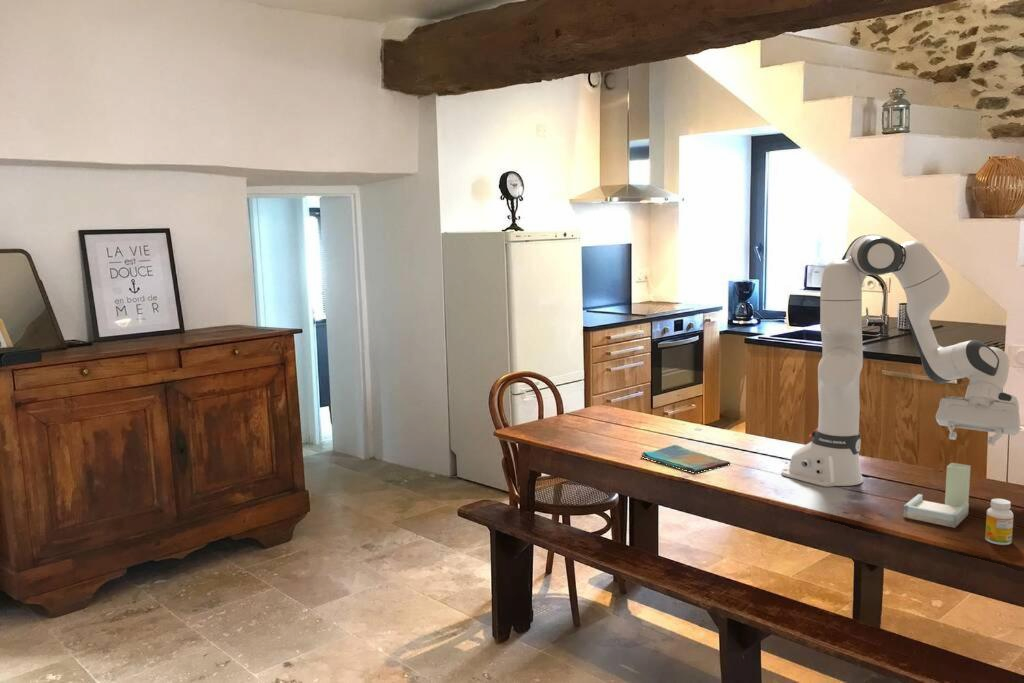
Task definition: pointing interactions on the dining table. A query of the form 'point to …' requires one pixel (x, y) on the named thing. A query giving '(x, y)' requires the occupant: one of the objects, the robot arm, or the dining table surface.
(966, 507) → the holder
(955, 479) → the green block
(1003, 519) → the supplement bottle
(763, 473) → the dining table surface
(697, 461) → the dish towel
